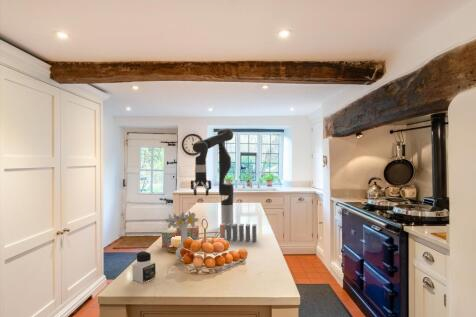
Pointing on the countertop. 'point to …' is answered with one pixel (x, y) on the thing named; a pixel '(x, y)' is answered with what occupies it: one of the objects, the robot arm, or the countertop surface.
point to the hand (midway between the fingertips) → (201, 195)
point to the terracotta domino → (222, 230)
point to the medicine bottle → (144, 267)
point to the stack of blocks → (179, 234)
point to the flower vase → (182, 226)
